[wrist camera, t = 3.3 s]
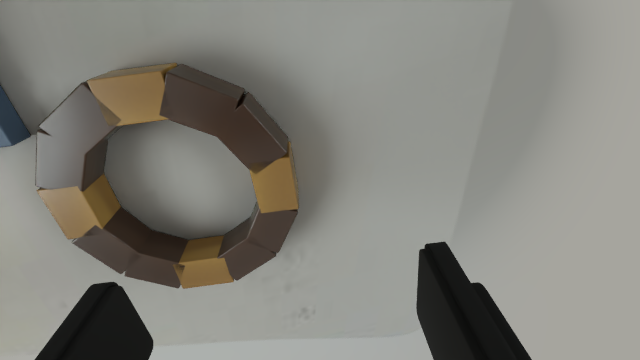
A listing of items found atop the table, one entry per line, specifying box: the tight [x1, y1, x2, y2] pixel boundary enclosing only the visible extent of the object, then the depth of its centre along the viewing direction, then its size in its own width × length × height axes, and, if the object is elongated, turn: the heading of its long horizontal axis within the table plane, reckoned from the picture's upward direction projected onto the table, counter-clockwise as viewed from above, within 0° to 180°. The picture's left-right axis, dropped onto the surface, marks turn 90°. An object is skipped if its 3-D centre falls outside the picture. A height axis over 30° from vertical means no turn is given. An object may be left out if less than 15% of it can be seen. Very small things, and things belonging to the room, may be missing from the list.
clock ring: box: [35, 63, 299, 289], centre depth 17 cm, size 12×12×2 cm
